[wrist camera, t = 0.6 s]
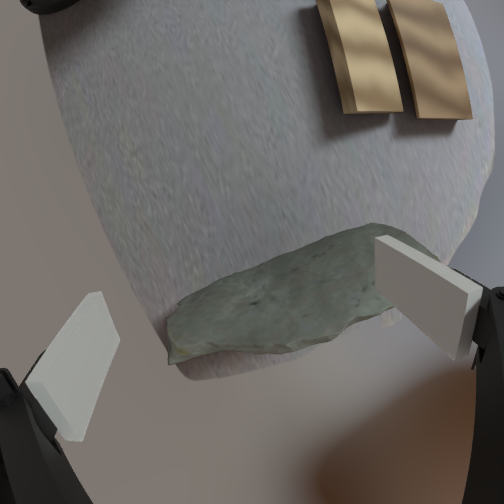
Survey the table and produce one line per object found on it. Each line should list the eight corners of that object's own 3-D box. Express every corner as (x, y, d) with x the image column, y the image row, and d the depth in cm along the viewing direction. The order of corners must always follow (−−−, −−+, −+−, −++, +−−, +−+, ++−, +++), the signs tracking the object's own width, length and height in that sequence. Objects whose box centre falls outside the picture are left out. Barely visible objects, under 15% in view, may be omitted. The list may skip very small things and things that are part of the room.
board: (374, -1, 31) (385, -10, 27) (430, 10, 32) (442, 4, 28) (404, 119, 37) (419, 117, 33) (457, 119, 38) (472, 119, 34)
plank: (307, -1, 30) (318, -17, 26) (366, 3, 31) (381, -10, 26) (335, 116, 36) (352, 111, 31) (394, 113, 37) (414, 109, 32)
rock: (191, 316, 41) (182, 426, 22) (170, 278, 39) (141, 376, 20) (367, 240, 41) (462, 298, 22) (355, 198, 40) (457, 235, 21)
